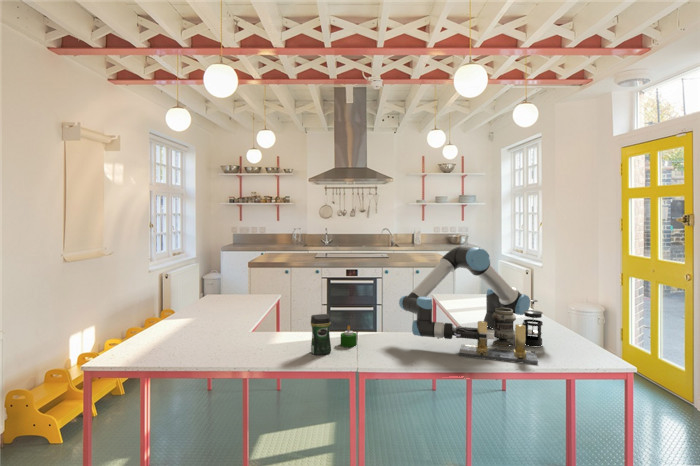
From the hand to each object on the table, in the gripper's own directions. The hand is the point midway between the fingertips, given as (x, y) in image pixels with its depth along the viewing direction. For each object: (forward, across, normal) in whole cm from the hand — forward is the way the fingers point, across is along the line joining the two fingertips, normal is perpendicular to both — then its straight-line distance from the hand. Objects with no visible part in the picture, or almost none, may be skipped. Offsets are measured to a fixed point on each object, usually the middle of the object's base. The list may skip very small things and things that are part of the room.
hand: (494, 335), depth 197 cm
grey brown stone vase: (+4, -20, -10) cm, 23 cm away
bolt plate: (+1, 0, -10) cm, 10 cm away
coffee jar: (-79, +25, -10) cm, 83 cm away
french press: (+18, -24, -10) cm, 31 cm away
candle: (-70, +9, -10) cm, 71 cm away
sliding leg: (-5, +2, -8) cm, 10 cm away
